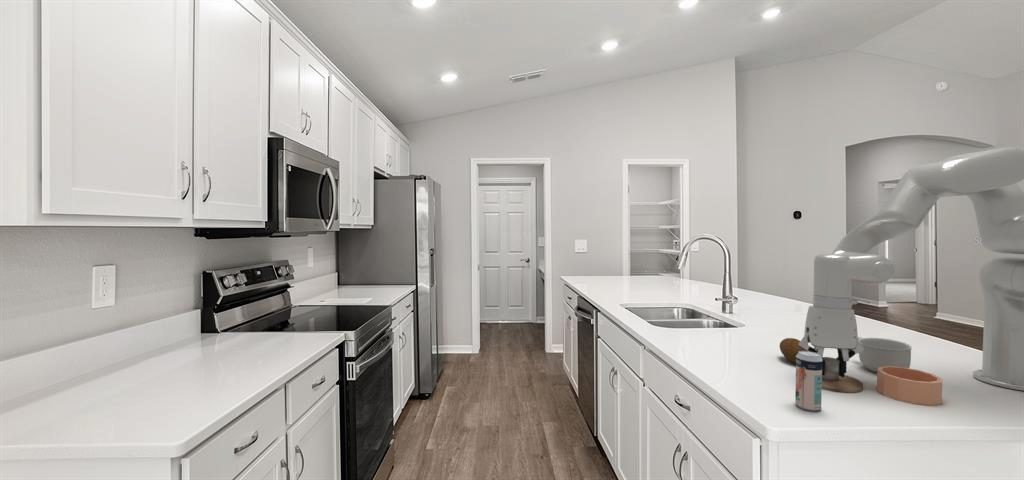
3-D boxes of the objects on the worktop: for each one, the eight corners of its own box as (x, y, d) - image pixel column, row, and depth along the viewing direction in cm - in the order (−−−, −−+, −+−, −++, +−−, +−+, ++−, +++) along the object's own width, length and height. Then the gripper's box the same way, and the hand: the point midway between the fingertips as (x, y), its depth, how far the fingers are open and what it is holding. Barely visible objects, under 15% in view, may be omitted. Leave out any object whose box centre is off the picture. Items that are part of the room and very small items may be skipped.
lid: (847, 376, 108) (848, 353, 108) (875, 395, 96) (875, 370, 96) (790, 371, 112) (791, 349, 112) (810, 389, 100) (811, 365, 99)
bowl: (921, 388, 100) (922, 368, 99) (954, 407, 89) (955, 385, 89) (868, 384, 103) (868, 364, 103) (893, 401, 92) (894, 380, 92)
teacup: (922, 378, 106) (923, 348, 106) (880, 378, 106) (881, 348, 106) (876, 361, 120) (876, 334, 120) (838, 360, 120) (839, 334, 120)
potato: (800, 370, 113) (801, 345, 113) (769, 357, 124) (769, 334, 124) (822, 368, 114) (823, 344, 114) (789, 355, 125) (789, 333, 125)
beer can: (796, 400, 93) (797, 348, 93) (822, 406, 90) (823, 353, 90) (793, 408, 90) (794, 354, 89) (821, 414, 87) (822, 358, 86)
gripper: (863, 301, 104) (861, 372, 105) (788, 298, 109) (787, 366, 110) (880, 307, 97) (877, 383, 98) (799, 303, 102) (797, 376, 103)
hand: (829, 373), depth 104 cm, fingers closed on lid, 3 cm apart
